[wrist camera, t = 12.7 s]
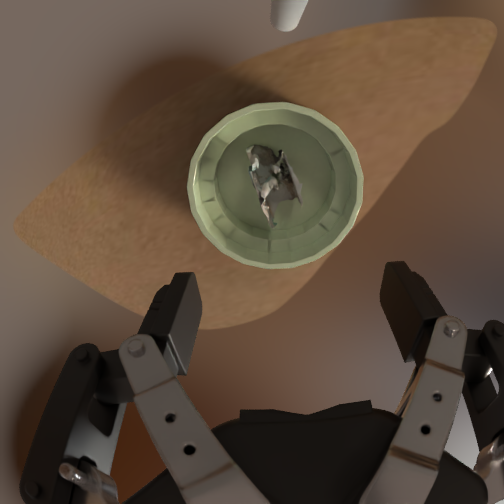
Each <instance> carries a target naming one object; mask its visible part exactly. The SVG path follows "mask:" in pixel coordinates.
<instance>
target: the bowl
mask: <svg viewBox="0 0 504 504" xmlns="http://www.w3.org/2000/svg"><path fill="white" fill-rule="evenodd" d="M253 145H262V146H268V148H271V149H272V150H273V152H274V154H275V155H276V157H278V156H279V152H278V151H279V150H283V152H284V154H285V155H287V156H286V157H287V159H288V163H289V165H290V166H291V167H293V172H294V174H295V175H296V177H297V178H298V181H299V184H302V183H303V184H302V188H301V192H300V194H301V196H302V199H303V205H302V208H301V203H299V201H298V198H294V199H293V200H285V201H281V202H280V203H279V204H278V206H277V209H276V211H275V215H274V219H273V220H274V221H273V222H274V223H277V225H276V226H275V227H274V229H273V228H271V227H270V226H269V224H268V221H267V218H266V216H265V214H264V212H263V210H262V208H261V206H260V202H259V199H258V194H257V191H256V189H255V188H254V186H253V185H252V181H251V178H250V175H249V173H248V167H249V166H251V163H250V160H249V158H248V155H247V152H246V148H247V147H250V146H253ZM187 192H188V197H189V203H190V209H191V213H192V215H193V217H194V218H195V220H196V222H197V224H198V226H199V228H200V229H201V231H202V233H203V235H204V236H205V237H206V238H207V239H208V240H209V241H210V242H211V243H212V244H213V245H214V246H215V247H216V248H218V249H219V250H220V251H221V252H222V253H224V254H226V255H228V256H229V257H231V258H233V259H235V260H237V261H239V262H241V263H243V264H247V265H251V266H256V267H260V268H265V269H281V268H294V267H297V266H300V265H303V264H306V263H309V262H312V261H315V260H316V259H318V258H320V257H321V256H323V255H324V254H326V253H327V252H329V251H330V250H332V249H333V248H335V247H336V246H337V245H338V244H339V243H340V242H341V241H342V239H343V238H344V237H345V236H346V234H347V233H348V232H349V231H350V229H351V228H352V227H353V225H354V222H355V220H356V217H357V214H358V212H359V209H360V207H361V204H362V198H363V173H362V169H361V166H360V162H359V159H358V156H357V152H356V150H355V148H354V147H353V146H352V144H351V143H350V141H349V140H348V138H347V137H346V136H345V134H344V133H343V132H342V130H341V129H340V128H339V127H338V126H337V125H336V124H334V123H333V122H331V121H330V120H329V119H327V118H326V117H324V116H323V115H321V114H320V113H318V112H317V111H315V110H313V109H310V108H306V107H303V106H299V105H295V104H292V103H288V102H271V103H256V104H252V105H250V106H247V107H245V108H242V109H240V110H238V111H235V112H233V113H230V114H228V115H227V116H225V117H224V118H223V119H222V120H220V121H219V122H218V123H217V124H216V125H215V126H214V127H213V128H211V129H210V130H209V131H208V132H207V133H206V134H205V135H204V137H203V138H202V140H201V142H200V144H199V146H198V147H197V149H196V151H195V153H194V155H193V157H192V159H191V162H190V168H189V174H188V181H187ZM300 210H301V211H300Z"/></svg>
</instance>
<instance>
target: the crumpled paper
mask: <svg viewBox="0 0 504 504" xmlns="http://www.w3.org/2000/svg"><path fill="white" fill-rule="evenodd" d="M246 152H247V155H248V158H249V160H250V163H251V166H249V167H248V173H249V175H250V178H251V181H252V185H253V186H254V188H255V189H256V191H257V194H258V199H259V202H260V206H261V208H262V210H263V212H264V214H265V216H266V218H267V221H268V224H269V226H270V227H271V228H273V229H274V227H275V226H276V225H277V223H274V222H273V221H274V220H273V219H274V215H275V211H276V209H277V206H278V204H279V203H280V202H281V201H285V200H293V199H294V198H298V201H299V203H301V208H302V205H303V199H302V196H301V194H300V192H301V188H302V184H303V183H302V184H299V181H298V178H297V177H296V175H295V174H294V172H293V167H291V166H290V165H289V163H288V159H287V157H286V156H287V155H285V154H284V152H283V150H279V151H278V152H279V156H278V157H276V155H275V154H274V152H273V150H272V149H271V148H268V146H262V145H253V146H250V147H247V148H246ZM300 211H301V210H300Z"/></svg>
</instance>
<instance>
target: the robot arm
mask: <svg viewBox="0 0 504 504" xmlns="http://www.w3.org/2000/svg"><path fill="white" fill-rule="evenodd" d="M380 302H381V306H382V308H383V311H384V313H385V315H386V318H387V320H388V322H389V324H390V327H391V329H392V332H393V334H394V337H395V339H396V341H397V344H398V347H399V349H400V351H401V354H402V357H403V359H404V362H405V363H406V362H411V361H415V363H416V366H415V368H414V370H413V373H412V375H411V378H410V380H409V383H408V385H407V387H406V390H405V392H404V394H403V397H402V399H401V401H400V403H399V405H398V407H397V409H396V411H395V412H394V413H391V412H389V411H385V410H381V409H375V408H372V405H371V401H370V400H366V401H360V402H353V403H346V404H339V405H337V406H334V407H331V408H328V409H325V410H322V411H319V412H316V413H313V414H309V415H303V414H297V413H290V412H285V411H279V410H274V409H269V410H240V418H237V419H234V420H230V421H227V422H225V423H222V424H220V425H218V426H216V427H215V428H213V429H211V430H210V428H209V427H208V426H207V424H206V423H205V421H204V420H203V418H202V417H201V415H200V414H199V413H198V411H197V410H196V408H195V406H194V405H193V403H192V402H191V401H190V399H189V397H188V396H187V394H186V393H185V391H184V389H183V388H182V386H181V384H180V383H179V381H178V380H177V378H176V377H177V375H187V371H188V367H189V363H190V359H191V355H192V351H193V347H194V343H195V339H196V335H197V331H198V327H199V323H200V319H201V315H202V301H201V297H200V293H199V289H198V285H197V281H196V276H195V274H194V272H182V273H175V275H174V277H173V279H172V281H171V284H170V285H164V286H163V287H162V288H161V289H160V290H159V291H158V292H157V293H156V295H155V297H154V299H153V303H151V305H150V307H149V310H148V312H147V314H146V316H145V318H144V320H143V322H142V325H141V327H140V329H139V331H138V333H137V334H136V335H133V336H130V337H129V338H127V339H126V340H125V341H123V343H122V344H121V345H120V348H119V349H117V350H112V351H106V352H100V351H99V350H98V348H97V347H96V346H95V345H94V344H90V343H86V344H82V345H79V346H78V347H76V348H75V349H74V350H73V351H72V352H71V353H70V355H69V357H68V359H67V361H66V363H65V365H64V367H63V369H62V371H61V373H60V375H59V378H58V380H57V382H56V384H55V386H54V389H53V391H52V393H51V395H50V398H49V400H48V403H47V405H46V407H45V410H44V412H43V415H42V418H41V420H40V423H39V425H38V428H37V430H36V433H35V436H34V439H33V442H32V445H31V448H30V451H29V454H28V457H27V460H26V463H25V467H24V470H23V474H22V477H21V481H20V487H19V488H20V494H21V497H22V499H23V501H24V502H25V503H26V504H119V502H118V499H117V497H118V494H117V487H116V484H115V482H114V480H113V479H112V478H111V477H110V476H109V475H110V470H111V466H112V461H113V456H114V452H115V448H116V444H117V439H118V435H119V431H120V428H121V424H122V420H123V416H124V412H125V409H126V405H127V402H135V405H136V407H137V409H138V412H139V414H140V416H141V418H142V420H143V422H144V425H145V426H146V429H147V431H148V432H149V435H150V437H151V439H152V441H153V442H154V444H155V447H156V449H157V450H158V452H159V454H160V456H161V458H162V460H163V461H164V463H165V465H166V467H167V468H166V469H165V470H164V471H163V472H162V473H161V474H159V475H158V476H157V477H155V478H154V479H153V480H152V481H150V482H149V483H148V484H147V485H145V486H144V487H143V488H142V489H140V490H139V491H138V492H136V493H135V494H134V495H133V496H131V497H130V498H128V499H127V500H126V501H124V502H123V503H122V504H495V503H496V502H498V501H500V500H503V499H504V324H503V323H501V322H499V321H497V320H490V321H488V322H487V323H486V324H485V326H484V327H483V329H482V330H472V329H467V328H466V326H465V324H464V323H463V322H462V321H461V320H460V319H458V318H456V317H454V316H448V315H447V314H446V312H445V310H444V309H443V307H442V306H441V304H440V302H439V301H438V299H437V298H436V296H435V295H434V294H433V292H432V290H431V289H430V288H429V286H428V284H427V283H426V281H425V280H424V278H423V277H421V276H420V275H419V274H417V273H416V272H411V270H410V269H409V267H408V266H407V264H406V263H405V262H404V261H395V262H387V263H386V265H385V270H384V275H383V280H382V285H381V289H380ZM491 370H493V372H494V374H495V377H496V379H497V381H498V384H499V392H498V395H497V393H496V390H495V388H494V386H493V383H492V380H491V378H490V376H489V373H490V372H491ZM461 393H462V394H463V396H464V399H465V402H466V405H467V409H468V412H469V415H470V418H471V421H472V425H473V428H474V432H475V435H476V439H477V443H478V447H479V451H480V453H479V455H478V457H477V462H476V465H475V466H474V469H473V470H472V469H471V468H469V467H468V466H466V465H465V464H464V463H462V462H461V461H459V460H458V459H457V458H455V457H454V456H452V455H451V454H450V453H448V452H447V451H445V450H444V448H445V445H446V443H447V440H448V437H449V434H450V431H451V428H452V425H453V421H454V418H455V415H456V411H457V408H458V404H459V400H460V397H461Z"/></svg>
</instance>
